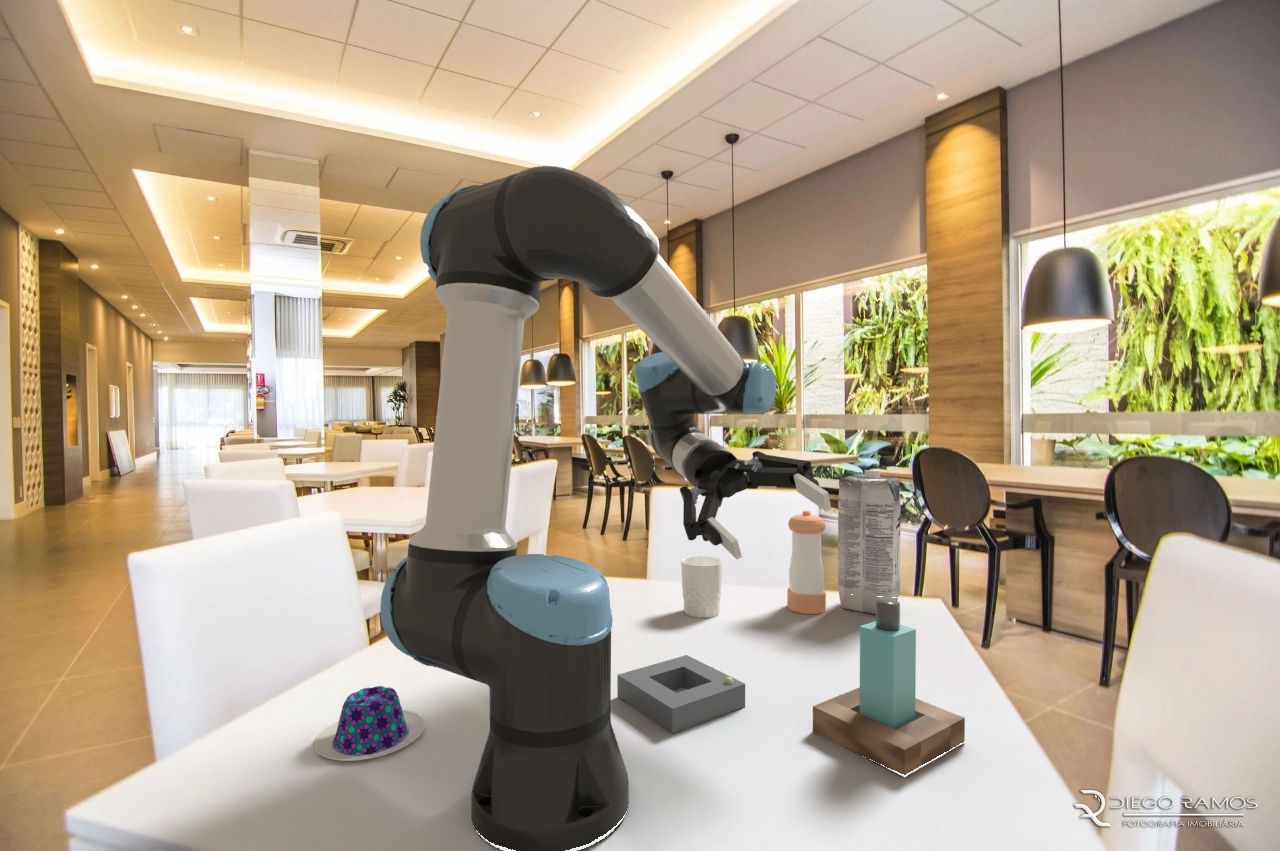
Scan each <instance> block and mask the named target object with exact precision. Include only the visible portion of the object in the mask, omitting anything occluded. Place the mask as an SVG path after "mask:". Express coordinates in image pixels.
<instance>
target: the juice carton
mask: <svg viewBox="0 0 1280 851" xmlns="http://www.w3.org/2000/svg"><path fill="white" fill-rule="evenodd" d="M900 485H901V484H900V480H899V478H897V477H893V476H892V477H881V471H880V470H872V469H871V470H870V469H869V470H868V469H867V470H866V469H864V475H858V474H857V475H856V474H854V475H849V476H846V477H842V478H840V479H839V482H838V497H837V498H838V500H837V506H838V510H837V514H838V515H837V517H838V518H837V549H838V550H837V589H838V596H839V602H840V606H841V608H842V609H843V610H844V609H845V610H849V611H855V612H859V613H860V612H861V613H865V614H871V615H875V616H876V600H878V599H891V600H895V601H898V600H899V596H900V590H901V589H900V588H901V492H900V491H901V490H900ZM851 594H853V595H851ZM877 596H883V597H877ZM892 597H898V598H892Z"/></svg>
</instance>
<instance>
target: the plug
mask: <svg viewBox="0 0 1280 851" xmlns="http://www.w3.org/2000/svg"><path fill="white" fill-rule="evenodd" d="M916 642H917V629H916V628H914V627H910V626H908V625H904V624H903V625H902V624H901V602H900V601H898V600H897V601H895V600H891V599H878V600H876V615H875V621H872V622H869V623H866V624H862V625H860V626H859V687H860V714H862V715H864V716H866V717H868V718H871V719H873V720H875V721H877V722H880V723H882V724H884V725H886V726H888V727H891V728H893V729H895V730H896V729H898V728H900V727H902V726H904V725H906V724H908V723H910V722H912V721H914V720H915V698H916V685H917V684H916V681H917V680H916V677H917V676H916V673H917V672H916V663H917V662H916V661H917V659H916V656H917V655H916V653H917V652H916V649H917V648H916V647H917V645H916Z"/></svg>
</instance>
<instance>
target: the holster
mask: <svg viewBox="0 0 1280 851" xmlns="http://www.w3.org/2000/svg"><path fill="white" fill-rule="evenodd" d="M965 718H966V717H965V716H962V715H959V714H957V713H954V712H951V711H948V710H946V709H944V708H941V707H939V706H936V705H934V704H931V703H928V702H926V701H924V700H921V699H919V698H916V697H915V720H914V721H912V722H910V723H908V724H906V725H904V726H902V727H900V728H898V729H896V730H895V729H893V728H891V727H888V726H886V725H884V724H882V723H880V722H877V721H875V720H873V719H871V718H868V717H866V716H864V715H862V714H860V686H858V687H857V688H854V689H852V690H849V691H847V692H845V693H843V694H840V695H838V696H835V697H832V698H829V699H827V700H824V701H823V702H820V703H818V704H815V705H812V732H814V733H816V734H818V735H820V736H821V737H824V738H825V739H827V740H829V741H831V742H834V743H835V744H837V745H839V746H842V748H844V749H847V750H849V751H851V752H853V753H855V752H856V753H858V754H860V755H862V756H864V757H866V758H868V759H871V760H873V761H875V762H877V763H879V764H882V765H884V766H885V767H887V768H890V769H892V770H895V771H897V772H899V773H901V774H904V775H906V774H907V773H909V772H911V771H913V770H914V769H916V768H918V767H919V766H921V765H923V764H925V763H927V762H929V761H931V760H932V759H934V758H936V757H937V756H939V755H941V754H943V753H944V752H947V751H949V750H950V749H952V748H953V747H956V746H957V745H959V744H960V743H963V742H964V741H965V740H966V739H965V736H966V735H965V734H966V731H965V728H966V726H965V723H966V720H965ZM856 753H855V754H856ZM858 754H857V755H858ZM860 755H859V756H860ZM862 756H861V757H862ZM864 757H863V758H864ZM866 758H865V759H866ZM868 759H867V760H868Z"/></svg>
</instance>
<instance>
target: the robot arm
mask: <svg viewBox="0 0 1280 851" xmlns="http://www.w3.org/2000/svg"><path fill="white" fill-rule="evenodd" d="M419 236H420V238H419V241H420V242H419V244H420V245H419V246H420V254H421V258H422V262H423V264H425V265H427V267H428V270H427V274H429V276H430V278H431V279H432V280H433V281H434V283H435V293H434V295H435V297H436V298H437V299H438V301H439V302H440V303H441V305H443V307H444V308H445V309H446V312H447V314H446V315H447V316H446V322H445V323H446V325H445V332H444V333H445V334H444V342H443V344H444V345H443V351H442V352H443V354H442V363H441V370H440V371H441V372H440V381H439V391H438V400H437V410H436V420H435V429H434V439H433V448H432V457H431V458H432V459H431V468H430V477H429V485H428V486H429V487H428V497H427V506H426V515H425V516H426V517H425V524H424V525H423V527H422V528H421V529H420V530H418V531H417V532H416V533H414V535H413V536H411V537H410V538H409V540H408V546H407V547H408V548H407V556H406V557H405V558H403V559H402V560H401V561H399V562H398V563H397V565H396V566H395V568H396V569H395V570H394V571H393V572H392V573H389V574H388V577H387V579H386V581H385V583H384V586H383V589H382V591H381V597H380V609H379V610H380V619H381V624H382V627H383V630H384V632H385V634H386V636H387V638H388V640H389V641H390V642H391V644H392V645H393V646H394V647H395V648H396V649H397V650H399V651H400V652H401V653H403V654H405V655H407V656H409V657H411V658H412V659H413V660H414V661H416V662H418V663H419V664H422V665H425V666H427V667H433V668H437V669H441V670H443V671H445V672H448V673H449V672H450V673H452V674H455V675H458V676H460V677H464V678H466V679H470V680H473V681H475V682H479V683H481V684H484V685H486V686H488V687H489V732H488V736H487V739H486V742H485V746H484V749H483V750H482V751H483V752H482V755H481V759H480V761H479V764H478V767H477V771H476V774H475V777H474V781H473V784H472V788H471V794H470V796H471V797H470V799H471V800H470V806H471V807H470V808H471V809H470V810H471V812H470V813H471V814H470V815H471V816H470V817H471V818H472V819H471V823H473V824H472V826H473V825H474V827H475V829H476V830H477V831H478V833H480V835H482V836H483V837H484V838H485V839H487V840H488V841H489V842H491V843H494V844H495V845H499V846H502V847H506V848H508V849H511V850H512V849H513V850H516V851H565V850H570V849H572V848H576V847H580V846H583V845H586V844H589V843H591V842H592V841H594V840H595V839H598V837H600V836H603V835H604V834H606V833H607V832H608V831H609V830H611V829H612V828H613V827H614V826H616V825H617V823H618V822H619V821H620V820H621V819H622V818H623V816H624V815H625V813H626V811H627V808H628V809H629V806H628V804H629V805H630V802H629V801H630V796H629V795H630V793H629V792H630V791H629V789H630V788H629V787H630V786H629V784H630V781H629V775H628V771H627V768H626V765H625V761H624V758H623V756H622V753H621V750H620V746H619V743H618V740H617V736H616V734H615V731H614V728H613V726H612V718H611V717H612V716H611V714H612V713H611V712H612V710H611V703H612V702H611V699H612V698H611V697H612V695H611V693H612V692H611V691H612V690H611V689H612V688H611V687H612V685H611V684H612V681H611V680H612V677H611V676H612V671H611V670H612V628H613V622H614V620H613V613H612V608H611V597H610V587H609V585H608V581H607V579H606V577H605V576H604V575H603V574H602V573H601V571H600V570H598V569H597V568H596V567H594V566H592V565H591V564H589V563H588V562H584V561H581V560H579V559H576V558H573V557H568V556H564V555H558V554H554V555H545V554H542V553H526V554H517V553H518V543H517V542H516V540H514V538H513V537H512V536H511V535H510V534H509V533H508V530H507V528H506V525H507V514H508V503H509V494H510V481H511V473H512V472H511V470H512V461H513V460H512V459H513V447H514V440H515V439H514V438H515V428H516V427H515V425H516V416H517V404H518V396H519V394H518V392H519V384H520V383H519V382H520V372H521V371H520V370H521V362H522V353H523V352H522V350H523V342H524V341H523V340H524V329H525V322H526V320H528V319H529V318H530V317H531V316H533V315H534V314H536V312H538V311H539V309H540V301H541V289H542V283H543V282H549V281H554V280H558V279H562V280H570V281H573V282H577V283H580V284H582V285H584V286H585V287H586V288H587V289H588V290H589V291H590V292H591V293H592V294H593V295H594V296H596V297H598V298H600V299H605V300H607V299H609V300H612V302H613V303H615V305H616V306H617V307H618V308H619V309H621V311H622V312H623V313H624V314H625V315H626V316H627V317H628V318H629V320H631V321H632V322H633V323H634V324H635V325H636V326H637V327H638V328H639V329H640V330H641V331H642V333H644V334H645V335H646V336H647V337H648V338H649V339H650V340H651V341H652V343H653V344H655V345H656V347H658V349H659V350H660V351H661V352H655V353H652V354H650V355H647V356H645V357H644V358H642V359H641V360H640V361H638V362H637V364H635V367H634V369H633V370H634V376H635V379H636V384H637V390H638V393H639V395H640V399H641V401H642V405H643V406H644V410H645V414H646V417H647V419H648V423H649V430H648V435H647V439H648V442H649V445H650V446H651V448H652V449H653V450H654V452H655V454H656V455H658V457H660V458H661V459H662V460H664V461H665V462H666V463H667V464H668V465H670V467H672V468H673V469H674V470H676V472H678V473H679V475H681V476H682V477H683V478H685V479H686V480H687V481H688V482H689V483H690V484H691V485H692V487H691V488H689V487H688V486H686V485H685V486H681V487H680V488H679V492H680V496H681V498H682V501H683V511H682V512H683V514H682V515H683V522H682V525H683V527H684V531H685V534H686V537H687V540H688V541H694V540H696V539H697V537H698V536H701V537H702V540H703V541H704V542H710V544H712V545H713V546H719V545H722V547H723V548H725V549H726V550H727V552H728V553H729V554H731V555H732V557H733V558H735V559H736V560H739V559H741V558H742V555H743V554H742V552H741V549H740V548H741V547H740V545H739V541H738V539H737V538H736V537H735V536H734V535H733V534H732V533H731V532H729V531H728V530H727V529H726V528H725V527H724V526H723V524H721V523H720V522H719V521H718V520H717V519H716V517H717V513H718V511H719V508H721V506H722V504H723V500H724V498H727V499H729V498H731V497H733V496H734V495H736V494H737V493H740V492H743V491H745V490H748V489H752V490H753V489H754V490H757V489H758V488H759V487H774V488H775V487H779V488H781V487H782V488H795V489H796V491H797V493H798V494H800V495H801V496H803V497H804V498H806V499H807V500H809V501H810V502H811V503H813V504H815V505H816V506H818V508H821V509H822V510H824V511H825V512H829V511H831V510H832V505H831V501H830V496H829V491H827V490H825V489H824V488H822V487H821V486H820V483H819V482H820V481H818V480H817V479H815V477H814V475H815V474H814V471H813V464H812V462H811V461H809V460H804V459H798V458H791V457H784V456H778V455H777V456H776V455H770V454H765V453H764V452H761V451H759V450H755V451H753V452H752V454H751V455H752V458H750V459H749V460H747V461H746V460H740V459H738V458H737V457H736V456H735V455H734V454H733V453H732V452H731V451H729V449H727V448H725V447H724V446H723V445H721V444H720V443H719V442H718V441H716V440H715V439H713V438H712V437H710V436H708V435H707V434H706V433H704V432H702V431H701V429H699V427H698V424H697V421H696V417H695V415H705V414H706V415H742V416H747V415H752V414H764V413H766V412H769V410H770V409H771V408H772V407H773V405H774V402H775V398H776V391H777V383H776V378H775V373H774V370H773V369H772V367H771V366H770V365H769V364H767V363H765V362H755V361H751V362H748V363H747V362H746V361H745V360H744V359H743V358H742V357H741V355H740V354H739V353H738V352H737V351H736V349H735V348H734V346H733V345H732V344H731V342H729V341H728V339H727V338H726V337H725V335H724V334H723V333H722V331H720V329H719V327H718V326H716V324H715V323H714V321H713V320H712V319H711V318H710V317H709V315H708V313H706V311H705V310H704V308H702V306H701V305H700V304H699V302H697V300H696V299H695V297H694V296H693V295H692V294H691V292H690V291H689V290H688V288H686V286H685V285H684V284H683V282H682V281H681V279H679V277H678V276H677V275H676V273H675V272H674V271H673V270H672V269H671V267H670V266H669V265H668V263H666V261H665V260H664V259H663V257H662V256H661V255H660V243H659V239H658V237H657V235H656V233H655V232H654V231H653V230H652V229H651V227H650V226H649V225H648V223H647V222H646V221H645V220H644V218H643V217H642V216H641V215H640V214H639V213H638V212H637V211H636V210H635V209H634V208H633V206H631V205H630V204H628V203H627V202H626V201H624V199H622V198H621V197H620V196H618V195H617V194H616V193H614V192H613V191H612V190H611V189H609V188H608V187H606V186H604V185H603V184H601V183H600V182H598V181H596V180H595V179H593V178H591V177H588V176H586V175H584V174H582V173H581V172H578V171H574V170H571V169H568V168H564V167H561V166H555V165H554V166H553V165H552V166H551V165H541V166H534V167H530V168H527V169H523V170H521V171H519V172H516V173H513V174H510V175H507V176H505V177H501V178H497V179H495V180H492V181H488V182H486V183H482V184H473V185H468V186H463V187H461V188H459V189H457V190H455V191H453V192H452V193H451V194H448V195H447V196H444V197H442V198H441V199H439V200H437V202H436V203H434V204H433V206H432V207H431V208H430V209H429V211H428V213H427V214H426V216H425V218H424V219H423V223H422V227H421V231H420V235H419ZM750 479H751V480H750ZM698 496H701V497H704V500H703V503H702V506H701V509H700V511H699V514H698V517H697V507H696V505H697V503H698V501H697V500H698V499H699V497H698ZM627 812H628V811H627ZM626 814H627V813H626ZM474 827H473V828H474ZM475 829H474V830H475Z"/></svg>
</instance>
